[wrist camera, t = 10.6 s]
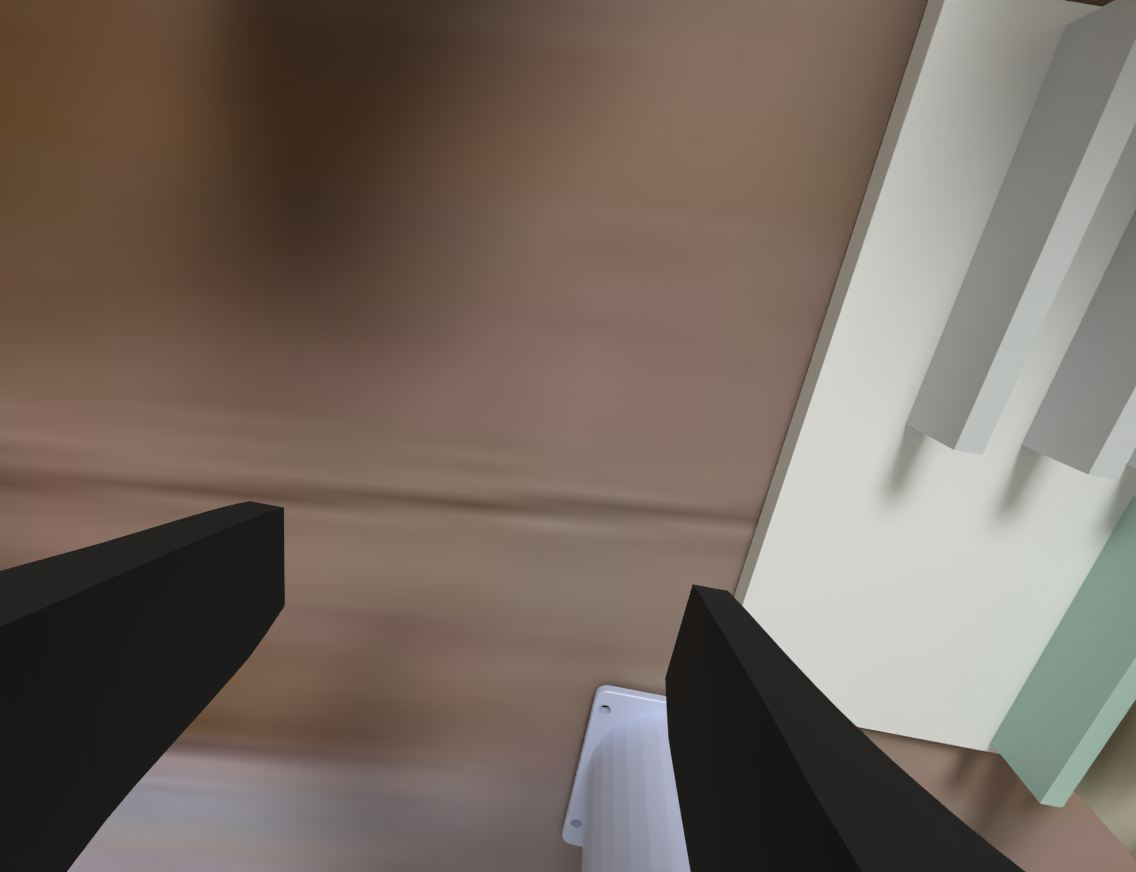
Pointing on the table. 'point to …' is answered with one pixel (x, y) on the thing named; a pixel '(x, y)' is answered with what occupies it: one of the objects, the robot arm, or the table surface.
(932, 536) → the rack
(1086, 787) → the birch sheet
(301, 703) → the table surface
